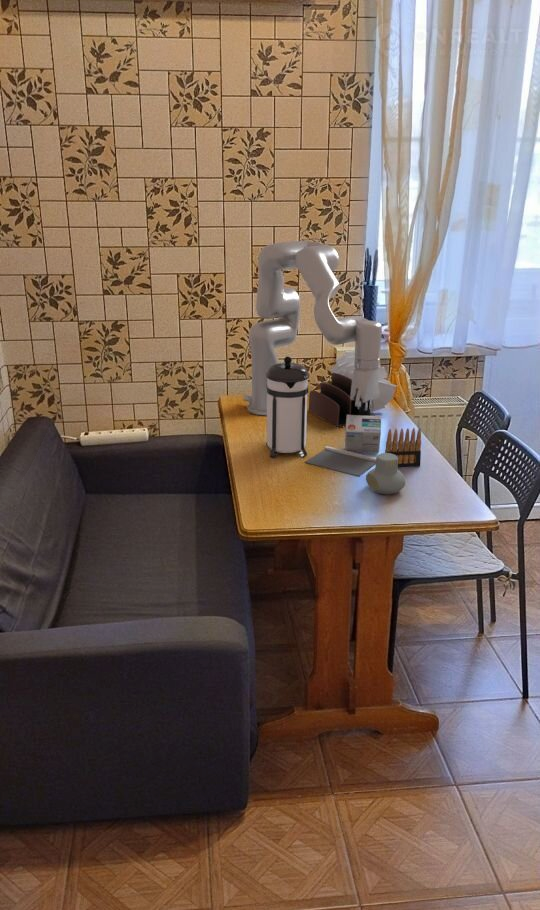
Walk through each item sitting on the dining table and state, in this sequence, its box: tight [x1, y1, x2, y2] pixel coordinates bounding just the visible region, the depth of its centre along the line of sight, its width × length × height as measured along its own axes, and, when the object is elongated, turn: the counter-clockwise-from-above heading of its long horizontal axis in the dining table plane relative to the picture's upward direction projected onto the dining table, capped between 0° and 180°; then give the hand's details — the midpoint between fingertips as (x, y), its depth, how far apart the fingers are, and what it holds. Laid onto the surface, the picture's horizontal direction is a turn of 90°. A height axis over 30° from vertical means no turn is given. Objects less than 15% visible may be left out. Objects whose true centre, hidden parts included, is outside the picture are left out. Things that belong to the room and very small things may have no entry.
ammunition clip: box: [384, 427, 422, 469], centre depth 224 cm, size 11×2×12 cm, turn 97°
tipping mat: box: [304, 445, 376, 477], centre depth 229 cm, size 18×13×1 cm
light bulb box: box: [344, 415, 382, 454], centre depth 233 cm, size 11×7×11 cm
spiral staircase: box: [330, 351, 398, 414], centre depth 275 cm, size 18×18×25 cm
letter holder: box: [308, 372, 358, 428], centre depth 263 cm, size 10×20×14 cm, turn 27°
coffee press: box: [265, 356, 310, 459], centre depth 232 cm, size 17×16×30 cm
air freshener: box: [365, 452, 406, 495], centre depth 209 cm, size 11×8×10 cm
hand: (363, 420), depth 235 cm, fingers closed
